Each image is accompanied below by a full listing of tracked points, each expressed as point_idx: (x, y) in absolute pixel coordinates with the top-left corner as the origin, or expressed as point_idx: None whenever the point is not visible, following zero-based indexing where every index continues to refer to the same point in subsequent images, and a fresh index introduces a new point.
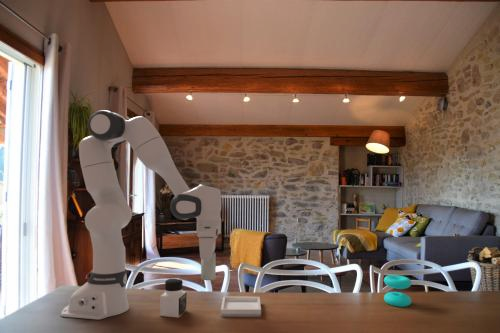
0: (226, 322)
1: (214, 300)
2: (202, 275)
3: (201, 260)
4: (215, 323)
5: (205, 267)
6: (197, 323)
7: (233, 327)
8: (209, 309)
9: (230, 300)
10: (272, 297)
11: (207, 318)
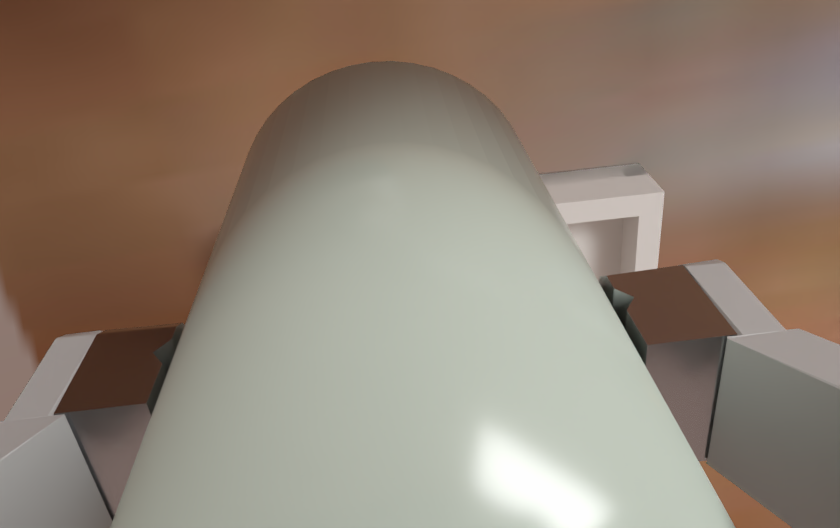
0: (133, 273)
1: (736, 55)
2: (256, 149)
3: (272, 300)
4: (78, 188)
5: (51, 377)
6: (11, 9)
7: (46, 339)
8: (442, 55)
9: (623, 252)
10: (752, 510)
11: (179, 87)
